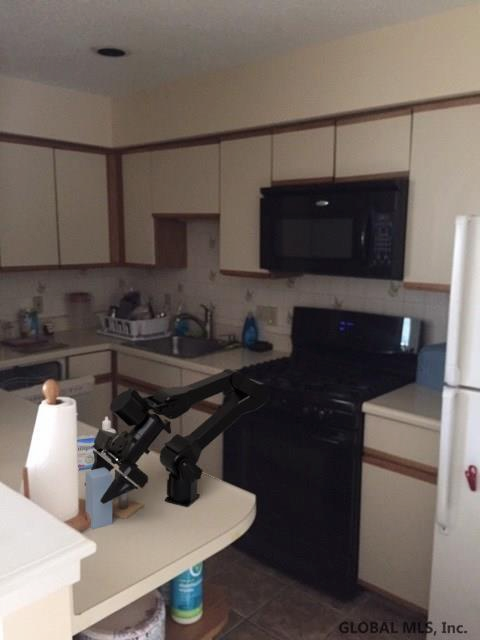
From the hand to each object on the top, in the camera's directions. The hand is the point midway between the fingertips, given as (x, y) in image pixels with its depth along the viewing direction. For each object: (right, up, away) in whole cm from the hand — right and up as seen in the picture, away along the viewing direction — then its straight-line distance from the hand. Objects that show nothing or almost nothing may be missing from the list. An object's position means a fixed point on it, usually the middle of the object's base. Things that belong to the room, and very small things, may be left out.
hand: (93, 494), depth 124 cm
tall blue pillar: (+1, -7, +2) cm, 7 cm away
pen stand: (+5, -6, +8) cm, 11 cm away
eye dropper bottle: (-6, -1, +38) cm, 39 cm away
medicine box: (-12, -2, +31) cm, 33 cm away
